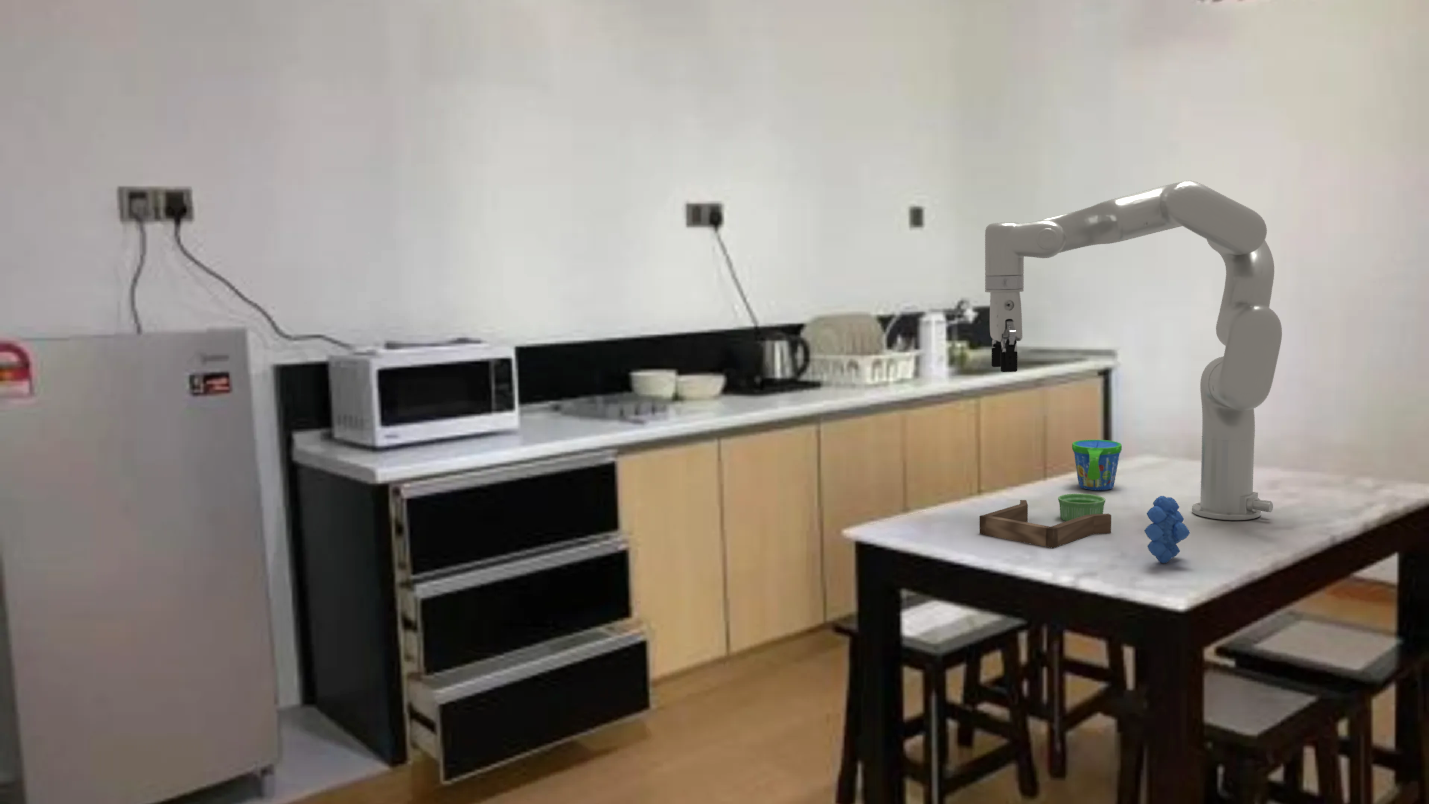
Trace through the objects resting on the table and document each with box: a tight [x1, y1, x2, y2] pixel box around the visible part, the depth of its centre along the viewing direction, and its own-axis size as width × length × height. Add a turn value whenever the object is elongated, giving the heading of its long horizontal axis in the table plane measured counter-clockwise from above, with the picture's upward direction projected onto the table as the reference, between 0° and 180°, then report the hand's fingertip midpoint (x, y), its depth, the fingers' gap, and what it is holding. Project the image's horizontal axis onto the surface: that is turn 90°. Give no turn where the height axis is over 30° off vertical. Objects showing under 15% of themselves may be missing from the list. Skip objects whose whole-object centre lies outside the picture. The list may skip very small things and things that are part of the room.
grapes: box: [1144, 495, 1191, 564], centre depth 194 cm, size 12×7×12 cm, turn 136°
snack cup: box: [1071, 439, 1123, 491], centre depth 255 cm, size 16×10×10 cm
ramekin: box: [1057, 493, 1106, 522], centre depth 227 cm, size 9×9×4 cm
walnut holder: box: [979, 499, 1112, 549], centre depth 218 cm, size 20×17×4 cm
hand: (1004, 369), depth 231 cm, fingers open, 9 cm apart
